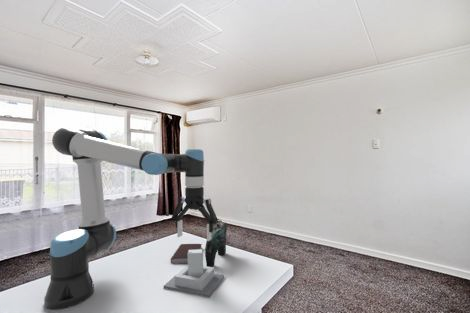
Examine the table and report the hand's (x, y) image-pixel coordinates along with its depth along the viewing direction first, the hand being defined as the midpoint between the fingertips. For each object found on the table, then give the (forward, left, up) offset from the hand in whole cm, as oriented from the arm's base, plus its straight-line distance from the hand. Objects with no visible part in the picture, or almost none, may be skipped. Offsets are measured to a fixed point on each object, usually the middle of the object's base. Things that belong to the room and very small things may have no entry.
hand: (194, 238), depth 96 cm
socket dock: (0, 0, -18) cm, 18 cm away
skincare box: (+1, 0, -18) cm, 18 cm away
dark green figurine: (0, +23, -19) cm, 30 cm away
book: (-17, +23, -19) cm, 35 cm away
